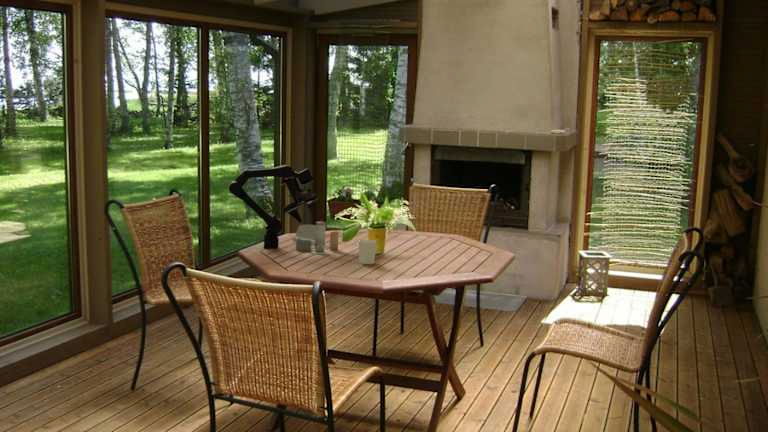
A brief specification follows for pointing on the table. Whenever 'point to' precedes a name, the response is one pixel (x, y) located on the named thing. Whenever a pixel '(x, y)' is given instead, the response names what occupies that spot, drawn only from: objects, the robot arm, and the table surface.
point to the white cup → (367, 251)
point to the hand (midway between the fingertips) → (308, 219)
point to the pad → (318, 252)
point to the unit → (303, 244)
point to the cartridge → (320, 236)
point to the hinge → (306, 233)
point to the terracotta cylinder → (333, 241)
